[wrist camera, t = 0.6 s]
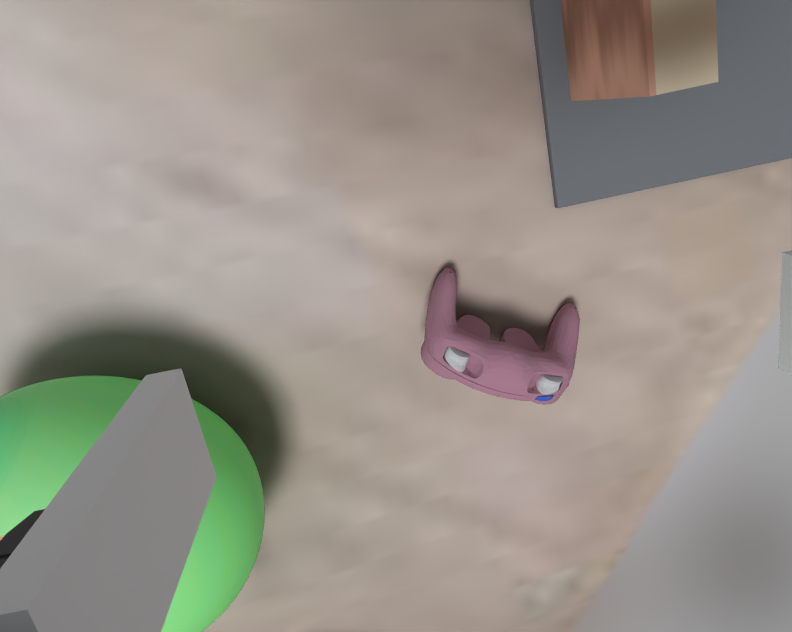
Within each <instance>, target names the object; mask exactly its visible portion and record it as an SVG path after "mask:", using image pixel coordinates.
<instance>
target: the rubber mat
mask: <svg viewBox="0 0 792 632" xmlns="http://www.w3.org/2000/svg"><path fill="white" fill-rule="evenodd" d="M530 5H531V13H532V21H533V30H534V38H535V46H536V54H537V63H538V71H539V79H540V88H541V96H542V104H543V113H544V121H545V129H546V137H547V146H548V154H549V162H550V171H551V179H552V187H553V195H554V204H555V207H556V208H561V207H566V206H571V205H575V204H580V203H585V202H589V201H594V200H598V199H603V198H608V197H612V196H617V195H622V194H626V193H631V192H635V191H640V190H645V189H649V188H654V187H659V186H663V185H668V184H672V183H677V182H682V181H686V180H691V179H696V178H700V177H705V176H710V175H714V174H719V173H723V172H728V171H733V170H737V169H742V168H747V167H751V166H756V165H760V164H765V163H770V162H774V161H779V160H784V159H788V158H792V0H716V19H717V50H718V81H719V82H715V83H710V84H706V85H701V86H696V87H692V88H687V89H683V90H678V91H673V92H669V93H664V94H659V95H655V96H650V97H635V98H618V99H601V100H584V101H571V96H570V86H569V77H568V67H567V58H566V48H565V39H564V30H563V20H562V11H561V1H560V0H530Z"/></svg>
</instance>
